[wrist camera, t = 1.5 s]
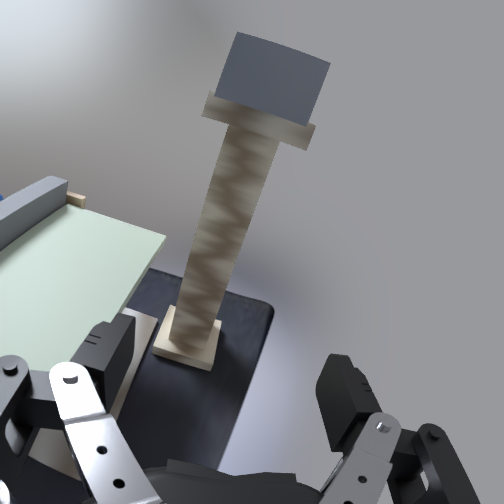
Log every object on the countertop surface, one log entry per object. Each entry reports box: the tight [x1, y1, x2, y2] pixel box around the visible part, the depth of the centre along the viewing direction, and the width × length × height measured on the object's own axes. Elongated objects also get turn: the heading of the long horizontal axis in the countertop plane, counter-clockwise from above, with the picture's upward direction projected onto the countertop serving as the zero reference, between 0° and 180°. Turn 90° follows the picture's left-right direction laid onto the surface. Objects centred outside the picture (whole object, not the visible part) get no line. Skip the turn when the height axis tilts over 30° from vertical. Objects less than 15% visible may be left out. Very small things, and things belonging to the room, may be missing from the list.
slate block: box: [214, 32, 330, 127], centre depth 22 cm, size 4×24×3 cm, turn 177°
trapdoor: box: [0, 175, 166, 372], centre depth 25 cm, size 17×24×4 cm
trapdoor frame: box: [28, 191, 158, 482], centre depth 29 cm, size 18×27×16 cm
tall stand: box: [152, 91, 316, 371], centre depth 34 cm, size 8×14×32 cm, turn 177°
